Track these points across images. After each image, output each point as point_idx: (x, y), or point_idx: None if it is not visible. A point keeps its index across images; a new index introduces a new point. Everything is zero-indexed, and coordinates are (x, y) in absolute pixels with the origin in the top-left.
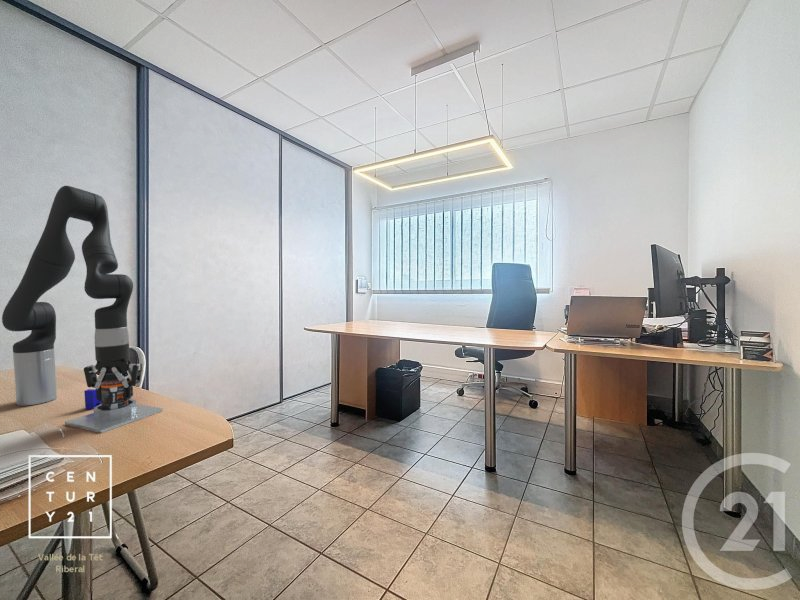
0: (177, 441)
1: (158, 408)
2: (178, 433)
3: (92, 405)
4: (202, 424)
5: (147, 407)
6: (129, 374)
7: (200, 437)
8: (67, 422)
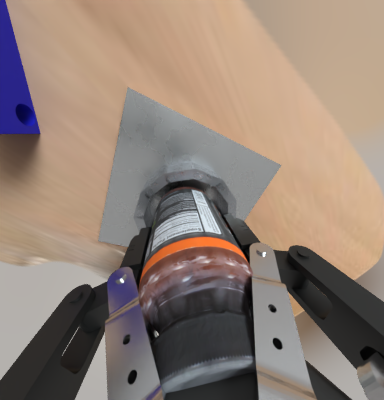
0: None
1: (270, 165)
2: (325, 254)
3: (21, 133)
4: (357, 229)
5: (236, 154)
6: (288, 301)
7: (352, 261)
8: (109, 242)
